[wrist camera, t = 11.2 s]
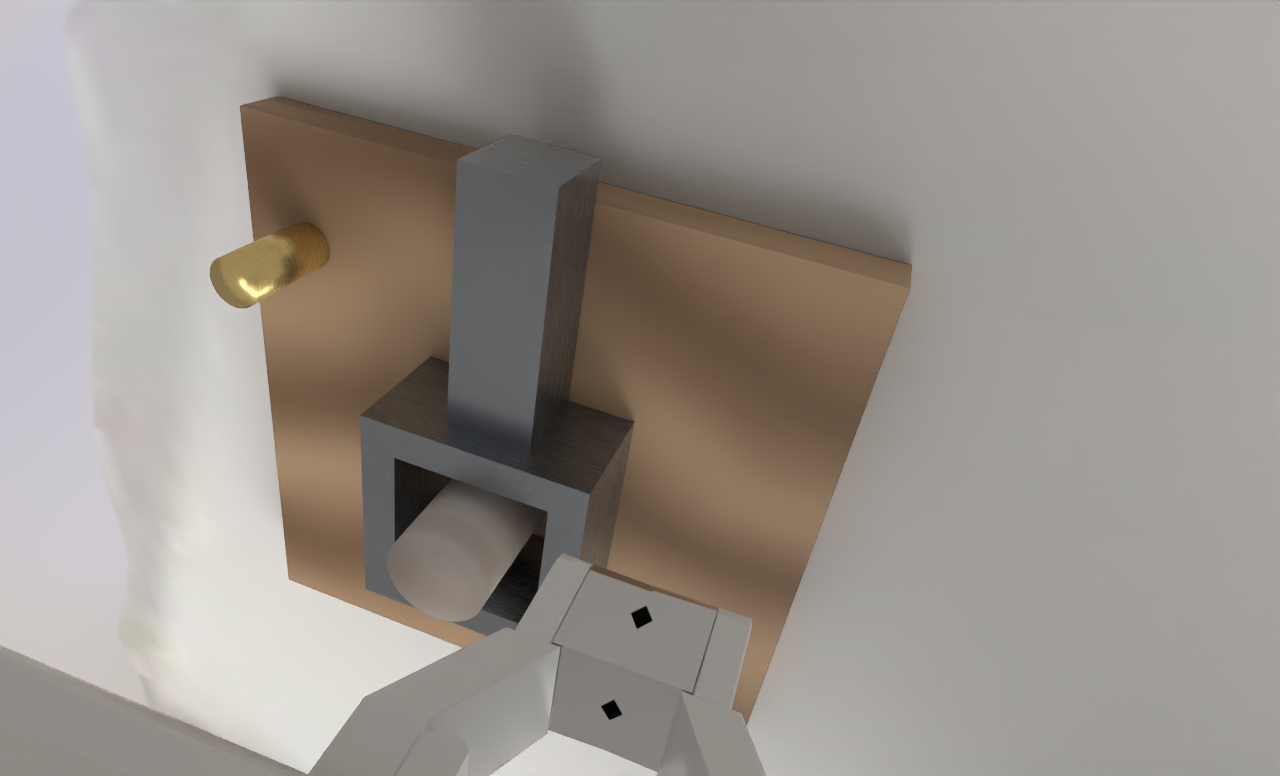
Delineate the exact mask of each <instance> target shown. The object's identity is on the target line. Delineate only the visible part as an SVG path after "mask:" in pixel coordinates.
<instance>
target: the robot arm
mask: <svg viewBox="0 0 1280 776" xmlns="http://www.w3.org/2000/svg"><path fill="white" fill-rule="evenodd" d="M717 611H718V612H717ZM716 614H717V615H716ZM715 618H716V619H715ZM714 621H715V622H714ZM712 628H713V629H712ZM751 628H752V619H751V618H748V617H745V616H742V615H739V614H736V613H733V612H730V611H727V610H725V609H722V608H719V610H718V607H716V606H713V605H710V604H707V603H704V602H701V601H698V600H695V599H692V598H689V597H686V596H683V595H680V594H677V593H674V592H671V591H668V590H665V589H662V588H659V587H656V586H655V587H654V586H651V585H649V584H646V583H643V582H640V581H638V580H635V579H632V578H630V577H627V576H624V575H622V574H619V573H616V572H614V571H611V570H608V569H606V568H603V567H600V566H598V565H595V564H594V565H593V564H591V563H588V562H585V561H582V560H580V559H577V558H574V557H572V556H569V555H566V554H564V553H563V554H561V555H560V556H559V557H558V558H557V559H556V560H555V562H554V564H553V566H552V567H551V569H550V571H549V572H548V574H547V576H546V578H545V579H544V581H543V583H542V585H541V586H540V588H539V590H538V591H537V593H536V595H535V597H534V598H533V600H532V602H531V603H530V605H529V607H528V609H527V610H526V612H525V614H524V615H523V617H522V619H521V621H520V622H519V624H518V626H517V628H516V629H515V630H514V629H511V628H508V627H505V628H503V629H501V630H499V631H497V632H495V633H493V634H491V635H489V636H487V637H485V638H483V639H481V640H479V641H477V642H475V643H473V644H471V645H468V646H466V647H464V648H462V649H460V650H458V651H456V652H454V653H452V654H450V655H448V656H446V657H444V658H442V659H440V660H438V661H436V662H434V663H432V664H430V665H428V666H426V667H424V668H422V669H420V670H418V671H416V672H414V673H412V674H410V675H408V676H406V677H404V678H402V679H400V680H398V681H396V682H394V683H392V684H390V685H388V686H386V687H384V688H382V689H380V690H378V691H376V692H374V693H372V694H370V695H368V696H366V697H364V698H363V700H362V701H361V703H360V704H359V705H358V707H357V708H356V709H355V711H354V712H353V714H352V715H351V716H350V718H349V719H348V720H347V722H346V723H345V724H344V726H343V727H342V729H341V730H340V731H339V733H338V734H337V735H336V737H335V738H334V740H333V741H332V742H331V744H330V745H329V746H328V748H327V749H326V751H325V752H324V753H323V755H322V756H321V757H320V759H319V760H318V761H317V763H316V764H315V766H314V767H313V768H312V770H311V771H310V772H309V774H306V773H303V772H301V771H299V770H296V769H294V768H291V767H289V766H287V765H284V764H282V763H279V762H277V761H275V760H272V759H270V758H268V757H265V756H263V755H260V754H258V753H256V752H253V751H251V750H248V749H246V748H244V747H241V746H239V745H237V744H234V743H232V742H229V741H227V740H225V739H222V738H220V737H218V736H215V735H213V734H210V733H208V732H206V731H203V730H201V729H198V728H196V727H194V726H191V725H189V724H187V723H184V722H182V721H179V720H177V719H175V718H172V717H170V716H167V715H165V714H163V713H160V712H158V711H156V710H153V709H151V708H148V707H146V706H144V705H141V704H139V703H136V702H134V701H132V700H129V699H127V698H124V697H122V696H120V695H117V694H115V693H113V692H110V691H108V690H106V689H103V688H101V687H98V686H96V685H94V684H91V683H89V682H87V681H84V680H82V679H79V678H77V677H75V676H72V675H70V674H67V673H65V672H63V671H60V670H58V669H55V668H53V667H51V666H48V665H46V664H44V663H41V662H39V661H37V660H34V659H32V658H29V657H27V656H25V655H22V654H20V653H17V652H15V651H13V650H10V649H8V648H6V647H3V646H1V645H0V776H489V775H491V774H492V773H493V772H495V771H496V770H497V769H499V768H500V767H502V766H503V765H504V764H506V763H507V762H508V761H510V760H511V759H513V758H514V757H515V756H517V755H518V754H519V753H521V752H522V751H524V750H525V749H526V748H528V747H529V746H530V745H532V744H533V743H535V742H536V741H537V740H539V739H540V738H541V737H543V736H544V735H546V734H547V731H548V730H550V731H553V732H556V733H559V734H562V735H564V736H567V737H570V738H573V739H576V740H579V741H581V742H584V743H587V744H590V745H593V746H595V747H598V748H601V749H603V748H604V750H606V751H609V752H611V753H613V754H616V755H618V756H620V757H623V758H625V759H628V760H630V761H632V762H635V763H637V764H640V765H642V766H644V767H647V768H649V769H652V770H654V771H656V772H658V775H657V776H766V774H765V772H764V769H763V767H762V764H761V762H760V759H759V757H758V754H757V752H756V749H755V747H754V744H753V742H752V739H751V736H750V734H749V731H748V729H747V726H746V724H745V721H744V719H743V716H742V714H741V713H739V712H737V711H734V710H732V705H733V701H734V697H735V693H736V689H737V685H738V681H739V677H740V673H741V669H742V664H743V660H744V656H745V652H746V648H747V644H748V640H749V636H750V632H751ZM711 631H712V632H711ZM708 641H709V642H708ZM705 651H706V652H705ZM704 654H705V655H704Z"/></svg>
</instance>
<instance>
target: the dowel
mask: <svg viewBox="0 0 1280 776" xmlns="http://www.w3.org/2000/svg"><path fill="white" fill-rule="evenodd" d="M329 257H330V248H329V244H328V241H327V239H326V238H325V236H324V234H323V233H322V232H321V231H320V230H319V229H318V228H317V227H316V226H314V225H313V224H311V223H308V222H303V221H301V222H296V223H294V224H292V225H290V226H287V227H285V228H283V229H281V230H279V231H276V232H274V233H272V234H270V235H268V236H266V237H263V238H261V239H259V240H257V241H255V242H252V243H250V244H248V245H246V246H244V247H241V248H239V249H237V250H235V251H233V252H230V253H228V254H226V255H224V256H222V257H220V258H217V259H216V260H214V261H213V263H212V264H211V267H210V278H211V281H212V284H213V286H214V288H215V290H216V292H217V293H218V294H219V295H220V297H221V298H222V299H223V300H224V301H226V302H227V303H228V304H230V305H232V306H234V307H237V308H248V307H250V306H252V305H254V304H256V303H257V302H259V301H261V300H263V299H265V298H267V297H268V296H270V295H272V294H274V293H276V292H278V291H279V290H281V289H283V288H285V287H287V286H289V285H290V284H292V283H294V282H296V281H298V280H299V279H301V278H303V277H305V276H307V275H309V274H310V273H312V272H314V271H316V270H318V269H320V268H321V267H323V266H325V265H326V264H327V262H328V260H329Z"/></svg>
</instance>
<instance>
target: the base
mask: <svg viewBox="0 0 1280 776" xmlns="http://www.w3.org/2000/svg"><path fill="white" fill-rule="evenodd" d="M240 112H241V122H242V132H243V141H244V151H245V161H246V170H247V180H248V190H249V199H250V209H251V219H252V228H253V238H254V242H255V241H257V240H259V239H261V238H263V237H266V236H268V235H270V234H272V233H274V232H276V231H279V230H281V229H283V228H285V227H287V226H290V225H292V224H294V223H296V222H301V221H303V222H308V223H311V224H313V225H314V226H316V227H317V228H318V229H319V230H320V231H321V232H322V233H323V234H324V236H325V238H326V239H327V241H328V244H329V248H330V257H329V260H328V262H327V264H326V265H325V266H323V267H321V268H320V269H318V270H316V271H314V272H312V273H310V274H309V275H307V276H305V277H303V278H301V279H299V280H298V281H296V282H294V283H292V284H290V285H289V286H287V287H285V288H283V289H281V290H279V291H278V292H276V293H274V294H272V295H270V296H268V297H267V298H265V299H263V300H261V301H260V305H261V315H262V325H263V334H264V344H265V354H266V363H267V373H268V382H269V392H270V402H271V411H272V421H273V431H274V440H275V450H276V460H277V469H278V479H279V489H280V498H281V508H282V517H283V527H284V537H285V546H286V556H287V566H288V575H289V580H292V581H294V582H297V583H299V584H302V585H305V586H307V587H310V588H312V589H315V590H317V591H320V592H322V593H325V594H327V595H330V596H333V597H335V598H338V599H340V600H343V601H345V602H348V603H350V604H353V605H355V606H358V607H361V608H363V609H366V610H368V611H371V612H373V613H376V614H378V615H381V616H383V617H386V618H389V619H391V620H394V621H396V622H399V623H401V624H404V625H406V626H409V627H411V628H414V629H417V630H419V631H422V632H424V633H427V634H429V635H432V636H434V637H437V638H440V639H442V640H445V641H447V642H450V643H452V644H455V645H457V646H460V647H462V648H464V647H466V646H468V645H471V644H473V643H475V642H477V641H479V640H481V639H483V638H485V637H487V636H486V635H483V634H481V633H478V632H475V631H473V630H470V629H468V628H465V627H463V626H460V625H457V624H455V623H452V622H458V621H465V620H468V619H471V618H473V617H474V616H475V615H477V614H478V613H479V612H480V610H481V609H482V607H483V606H484V604H485V603H486V601H487V600H488V598H489V597H490V595H491V594H492V592H493V591H494V589H495V588H496V586H497V585H498V583H499V582H500V580H501V579H502V577H503V576H504V575H505V573H506V572H507V570H508V569H509V567H510V566H511V564H512V563H513V561H514V560H515V558H516V557H517V555H518V554H519V552H520V551H521V549H522V548H523V546H524V545H525V543H526V542H527V540H528V539H529V537H530V536H531V535H532V533H533V534H535V535H538V536H541V537H544V538H545V532H546V525H547V517H548V512H547V511H544V510H541V509H538V508H535V507H533V506H530V505H527V504H524V503H521V502H518V501H516V500H513V499H510V498H507V497H504V496H501V495H498V494H496V493H493V492H490V491H487V490H484V489H481V488H479V487H476V486H473V485H470V484H467V483H464V482H461V481H459V480H456V479H453V478H452V479H451V480H450V481H449V482H448V483H447V484H446V485H445V487H444V488H443V489H442V490H441V491H440V492H439V493H438V494H437V496H436V497H435V498H434V499H433V500H432V501H431V502H430V503H429V505H428V506H427V507H426V508H425V509H424V510H423V511H422V512H421V514H420V515H419V516H418V517H417V518H416V519H415V520H414V521H413V523H412V524H411V525H410V526H409V527H408V528H407V529H406V530H405V532H404V533H403V534H402V535H401V536H400V537H399V538H398V539H397V541H396V542H395V543H394V544H393V545H392V546H391V548H390V550H389V552H388V555H387V568H388V572H389V575H390V578H391V580H392V582H393V584H394V585H395V587H396V588H397V590H398V591H399V592H400V593H401V595H402V596H403V597H404V598H405V599H406V600H407V601H408V602H409V603H411V604H412V605H413V606H415V607H416V608H417V609H416V608H414V607H411V606H408V605H406V604H403V603H401V602H398V601H395V600H393V599H390V598H388V597H385V596H383V595H380V594H377V593H375V592H372V591H370V590H367V589H365V558H364V527H363V496H362V465H361V434H360V415H361V414H362V413H363V412H365V411H366V410H367V409H368V408H369V407H371V406H372V405H373V404H374V403H375V402H376V401H378V400H379V399H380V398H381V397H382V396H384V395H385V394H386V393H387V392H388V391H390V390H391V389H392V388H393V387H394V386H396V385H397V384H398V383H399V382H400V381H402V380H403V379H404V378H405V377H406V376H408V375H409V374H410V373H411V372H412V371H413V370H415V369H416V368H417V367H418V366H419V365H421V364H422V363H423V362H424V361H425V360H427V359H428V358H429V357H430V356H432V357H435V358H438V359H441V360H445V361H448V362H449V354H450V328H451V302H452V276H453V250H454V224H455V198H456V172H457V159H459V158H461V157H463V156H465V155H468V154H470V153H472V152H474V151H476V150H477V149H473V148H470V147H466V146H462V145H458V144H455V143H451V142H447V141H444V140H440V139H436V138H432V137H429V136H425V135H421V134H417V133H414V132H410V131H406V130H402V129H399V128H395V127H391V126H387V125H384V124H380V123H376V122H372V121H369V120H365V119H361V118H357V117H354V116H350V115H346V114H342V113H339V112H335V111H331V110H327V109H324V108H320V107H316V106H312V105H309V104H305V103H301V102H297V101H294V100H290V99H286V98H282V97H279V96H277V97H273V98H269V99H265V100H261V101H257V102H253V103H249V104H245V105H241V106H240ZM911 271H912V265H908V264H904V263H900V262H897V261H893V260H889V259H885V258H882V257H878V256H874V255H871V254H867V253H863V252H859V251H856V250H852V249H848V248H844V247H841V246H837V245H833V244H829V243H826V242H822V241H818V240H814V239H811V238H807V237H803V236H799V235H796V234H792V233H788V232H784V231H781V230H777V229H773V228H769V227H766V226H762V225H758V224H754V223H751V222H747V221H743V220H739V219H736V218H732V217H728V216H724V215H721V214H717V213H713V212H709V211H706V210H702V209H698V208H694V207H691V206H687V205H683V204H679V203H676V202H672V201H668V200H664V199H661V198H657V197H653V196H650V195H646V194H642V193H638V192H635V191H631V190H627V189H623V188H620V187H616V186H612V185H608V184H605V183H601V182H598V188H597V196H596V203H595V211H594V218H593V225H592V233H591V240H590V248H589V255H588V262H587V270H586V277H585V285H584V292H583V299H582V307H581V314H580V321H579V329H578V336H577V344H576V351H575V358H574V366H573V373H572V381H571V388H570V395H569V401H572V402H575V403H578V404H581V405H584V406H587V407H590V408H593V409H596V410H600V411H603V412H606V413H609V414H612V415H615V416H618V417H621V418H624V419H627V420H631V421H634V422H635V423H634V429H633V434H632V439H631V444H630V449H629V455H628V460H627V465H626V470H625V476H624V481H623V486H622V491H621V496H620V502H619V507H618V512H617V517H616V523H615V528H614V533H613V538H612V544H611V549H610V554H609V559H608V564H607V569H608V570H611V571H614V572H616V573H619V574H622V575H624V576H627V577H630V578H632V579H635V580H638V581H640V582H643V583H646V584H649V585H651V586H654V587H655V586H656V587H659V588H662V589H665V590H668V591H671V592H674V593H677V594H680V595H683V596H686V597H689V598H692V599H695V600H698V601H701V602H704V603H707V604H710V605H713V606H716V607H718V610H719V608H722V609H725V610H727V611H730V612H733V613H736V614H739V615H742V616H745V617H748V618H751V619H752V628H751V632H750V636H749V640H748V644H747V648H746V652H745V656H744V660H743V664H742V669H741V673H740V677H739V681H738V685H737V689H736V693H735V697H734V701H733V705H732V710H734V711H737V712H739V713H741V714H742V716H743V719H744V721H745V724H746V725H747V723H748V720H749V717H750V715H751V712H752V709H753V707H754V704H755V701H756V699H757V696H758V693H759V691H760V688H761V685H762V682H763V680H764V677H765V674H766V672H767V669H768V666H769V664H770V661H771V658H772V656H773V653H774V650H775V648H776V645H777V642H778V640H779V637H780V634H781V632H782V629H783V626H784V624H785V621H786V618H787V616H788V613H789V610H790V608H791V605H792V602H793V600H794V597H795V594H796V592H797V589H798V586H799V584H800V581H801V578H802V576H803V573H804V570H805V568H806V565H807V562H808V560H809V557H810V554H811V552H812V549H813V546H814V544H815V541H816V538H817V536H818V533H819V530H820V527H821V525H822V522H823V519H824V517H825V514H826V511H827V509H828V506H829V503H830V501H831V498H832V495H833V493H834V490H835V487H836V485H837V482H838V479H839V477H840V474H841V471H842V469H843V466H844V463H845V461H846V458H847V455H848V453H849V450H850V447H851V445H852V442H853V439H854V437H855V434H856V431H857V429H858V426H859V423H860V421H861V418H862V415H863V413H864V410H865V407H866V405H867V402H868V399H869V397H870V394H871V391H872V389H873V386H874V383H875V381H876V378H877V375H878V373H879V370H880V367H881V364H882V362H883V359H884V356H885V354H886V351H887V348H888V346H889V343H890V340H891V338H892V335H893V332H894V330H895V327H896V324H897V322H898V319H899V316H900V314H901V311H902V308H903V306H904V303H905V300H906V298H907V295H908V292H909V290H910V283H911ZM717 612H718V611H717ZM716 615H717V614H716ZM715 619H716V618H715ZM450 621H452V622H450ZM714 622H715V621H714ZM712 629H713V628H712ZM711 632H712V631H711ZM708 642H709V641H708ZM705 652H706V651H705ZM704 655H705V654H704Z"/></svg>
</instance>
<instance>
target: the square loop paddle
mask: <svg viewBox="0 0 1280 776" xmlns="http://www.w3.org/2000/svg"><path fill="white" fill-rule="evenodd" d="M601 159H602V158H599V157H595V156H591V155H587V154H583V153H580V152H576V151H572V150H568V149H564V148H560V147H557V146H553V145H549V144H545V143H541V142H538V141H534V140H530V139H526V138H522V137H518V136H515V135H511V134H509V135H507V136H505V137H503V138H501V139H499V140H497V141H495V142H493V143H491V144H488V145H486V146H484V147H482V148H480V149H478V150H476V151H474V152H472V153H470V154H468V155H465V156H463V157H461V158H459V159H457V172H456V198H455V224H454V250H453V276H452V302H451V328H450V354H449V362H448V361H445V360H441V359H438V358H435V357H432V356H430V357H429V358H428V359H427V360H425V361H424V362H423V363H422V364H421V365H419V366H418V367H417V368H416V369H415V370H413V371H412V372H411V373H410V374H409V375H408V376H406V377H405V378H404V379H403V380H402V381H400V382H399V383H398V384H397V385H396V386H394V387H393V388H392V389H391V390H390V391H388V392H387V393H386V394H385V395H384V396H382V397H381V398H380V399H379V400H378V401H376V402H375V403H374V404H373V405H372V406H371V407H369V408H368V409H367V410H366V411H365V412H363V413H362V414H361V415H360V434H361V465H362V496H363V527H364V558H365V589H367V590H370V591H372V592H375V593H377V594H380V595H383V596H385V597H388V598H390V599H393V600H395V601H398V602H401V603H403V604H406V605H408V606H411V607H414V608H416V607H415V606H413V605H412V604H411V603H409V602H408V601H407V600H406V599H405V598H404V597H403V596H402V595H401V593H400V592H399V591H398V590H397V588H396V587H395V585H394V584H393V582H392V580H391V578H390V575H389V572H388V568H387V555H388V552H389V550H390V548H391V546H392V545H393V544H394V543H395V542H396V541H397V539H398V538H399V537H400V536H401V535H402V534H403V533H404V532H405V530H406V529H407V528H408V527H409V526H410V525H411V524H412V523H413V521H414V520H415V519H416V518H417V517H418V516H419V515H420V514H421V512H422V511H423V510H424V509H425V508H426V507H427V506H428V505H429V503H430V502H431V501H432V500H433V499H434V498H435V497H436V496H437V494H438V493H439V492H440V491H441V490H442V489H443V488H444V487H445V485H446V484H447V483H448V482H449V481H450V480H451V479H452V478H453V479H456V480H459V481H461V482H464V483H467V484H470V485H473V486H476V487H479V488H481V489H484V490H487V491H490V492H493V493H496V494H498V495H501V496H504V497H507V498H510V499H513V500H516V501H518V502H521V503H524V504H527V505H530V506H533V507H535V508H538V509H541V510H544V511H547V512H548V517H547V525H546V532H545V538H544V537H541V536H538V535H535V534H533V533H532V535H531V536H530V537H529V539H528V540H527V542H526V543H525V545H524V546H523V548H522V549H521V551H520V552H519V554H518V555H517V557H516V558H515V560H514V561H513V563H512V564H511V566H510V567H509V569H508V570H507V572H506V573H505V575H504V576H503V577H502V579H501V580H500V582H499V583H498V585H497V586H496V588H495V589H494V591H493V592H492V594H491V595H490V597H489V598H488V600H487V601H486V603H485V604H484V606H483V607H482V609H481V610H480V612H479V613H478V614H477V615H475V616H474V617H473V618H471V619H468V620H465V621H458V622H452V621H450V622H452V623H455V624H457V625H460V626H463V627H465V628H468V629H470V630H473V631H475V632H478V633H481V634H483V635H486V636H489V635H491V634H493V633H495V632H497V631H499V630H501V629H503V628H505V627H508V628H511V629H514V630H515V629H516V628H517V626H518V624H519V622H520V621H521V619H522V617H523V615H524V614H525V612H526V610H527V609H528V607H529V605H530V603H531V602H532V600H533V598H534V597H535V595H536V593H537V591H538V590H539V588H540V586H541V585H542V583H543V581H544V579H545V578H546V576H547V574H548V572H549V571H550V569H551V567H552V566H553V564H554V562H555V560H556V559H557V558H558V557H559V556H560V555H561V554H563V553H564V554H566V555H569V556H572V557H574V558H577V559H580V560H582V561H585V562H588V563H591V564H593V565H594V564H595V565H598V566H600V567H603V568H606V569H607V564H608V559H609V554H610V549H611V544H612V538H613V533H614V528H615V523H616V517H617V512H618V507H619V502H620V496H621V491H622V486H623V481H624V476H625V470H626V465H627V460H628V455H629V449H630V444H631V439H632V434H633V429H634V423H635V422H634V421H631V420H627V419H624V418H621V417H618V416H615V415H612V414H609V413H606V412H603V411H600V410H596V409H593V408H590V407H587V406H584V405H581V404H578V403H575V402H572V401H569V395H570V388H571V381H572V373H573V366H574V358H575V351H576V344H577V336H578V329H579V321H580V314H581V307H582V299H583V292H584V285H585V277H586V270H587V262H588V255H589V248H590V240H591V233H592V225H593V218H594V211H595V203H596V196H597V188H598V181H599V174H600V166H601ZM416 609H417V608H416Z"/></svg>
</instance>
